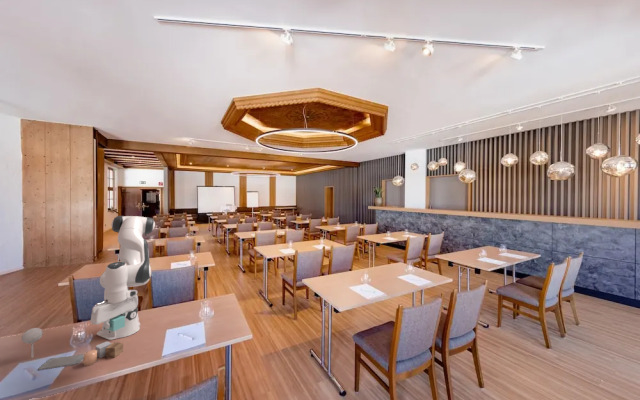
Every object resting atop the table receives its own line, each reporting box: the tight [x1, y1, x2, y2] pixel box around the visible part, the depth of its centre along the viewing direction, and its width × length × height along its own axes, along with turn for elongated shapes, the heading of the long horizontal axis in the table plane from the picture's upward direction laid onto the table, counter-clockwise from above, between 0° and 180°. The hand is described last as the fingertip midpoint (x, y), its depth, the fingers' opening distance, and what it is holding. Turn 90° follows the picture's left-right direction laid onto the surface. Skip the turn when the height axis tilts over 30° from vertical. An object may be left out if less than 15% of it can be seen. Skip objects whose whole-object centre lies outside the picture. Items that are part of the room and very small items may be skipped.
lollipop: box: [21, 327, 44, 359], centre depth 128 cm, size 7×7×15 cm
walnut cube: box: [105, 341, 124, 358], centre depth 132 cm, size 5×5×5 cm
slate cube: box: [95, 340, 112, 358], centre depth 132 cm, size 5×5×5 cm
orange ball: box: [82, 349, 98, 367], centre depth 125 cm, size 5×5×5 cm
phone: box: [37, 353, 84, 371], centre depth 125 cm, size 8×16×1 cm, turn 107°
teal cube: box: [107, 315, 125, 331], centre depth 121 cm, size 5×5×5 cm
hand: (115, 324), depth 121 cm, fingers closed on teal cube, 5 cm apart
